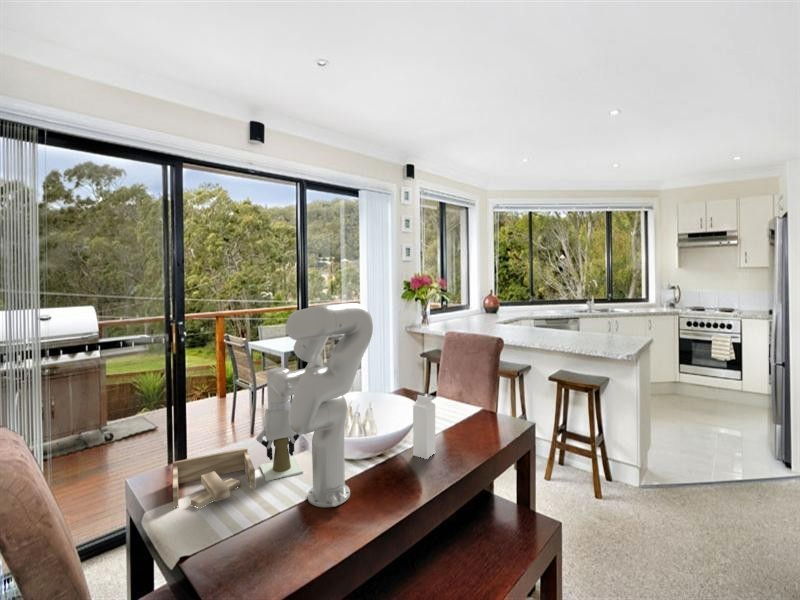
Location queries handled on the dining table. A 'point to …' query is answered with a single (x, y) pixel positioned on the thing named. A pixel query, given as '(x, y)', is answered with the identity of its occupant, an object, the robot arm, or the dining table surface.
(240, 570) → the dining table surface
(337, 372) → the robot arm
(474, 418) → the dining table surface
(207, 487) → the offcut top
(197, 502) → the offcut low
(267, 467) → the tile
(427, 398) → the milk
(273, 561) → the dining table surface
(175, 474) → the rack
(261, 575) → the dining table surface
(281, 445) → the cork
